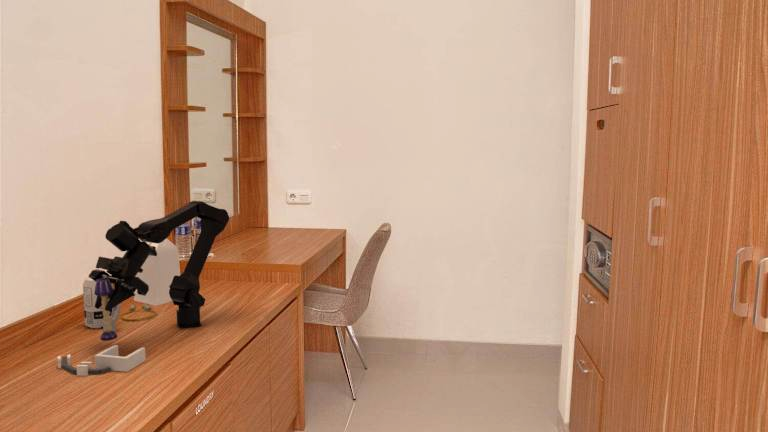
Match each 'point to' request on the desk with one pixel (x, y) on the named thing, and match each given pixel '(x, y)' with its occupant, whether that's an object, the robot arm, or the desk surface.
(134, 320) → the extension cord
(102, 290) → the toy lamp
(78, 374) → the clip
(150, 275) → the milk
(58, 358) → the clip
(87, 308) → the supplement can
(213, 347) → the desk surface
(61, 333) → the desk surface
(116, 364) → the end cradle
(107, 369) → the cable run
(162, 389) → the desk surface
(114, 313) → the lighter
